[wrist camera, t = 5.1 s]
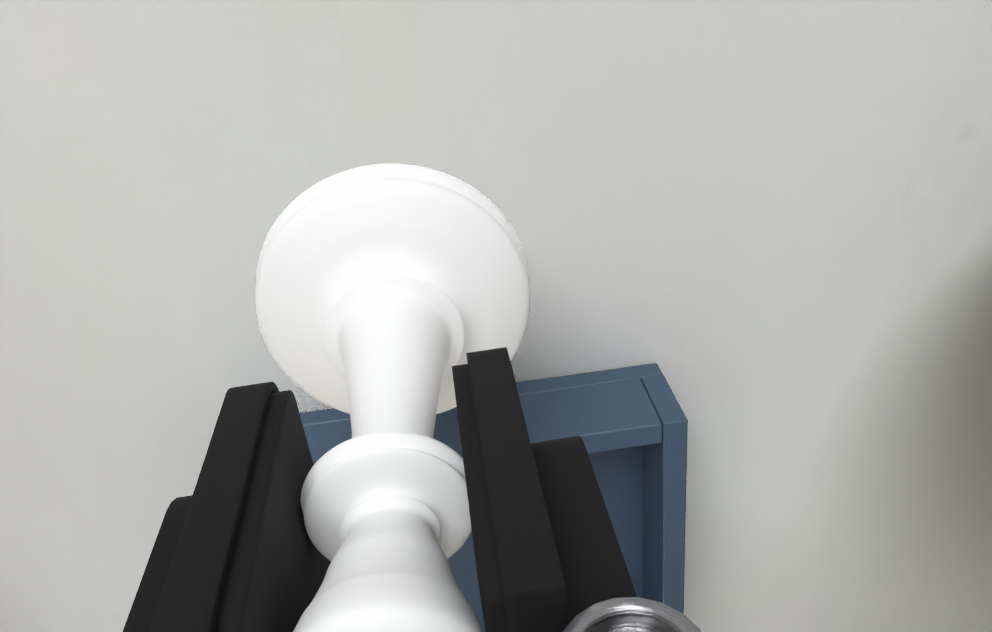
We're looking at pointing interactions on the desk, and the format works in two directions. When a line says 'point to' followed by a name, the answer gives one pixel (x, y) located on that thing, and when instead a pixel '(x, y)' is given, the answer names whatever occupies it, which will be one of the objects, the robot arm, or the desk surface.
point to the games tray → (614, 457)
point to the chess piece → (389, 377)
